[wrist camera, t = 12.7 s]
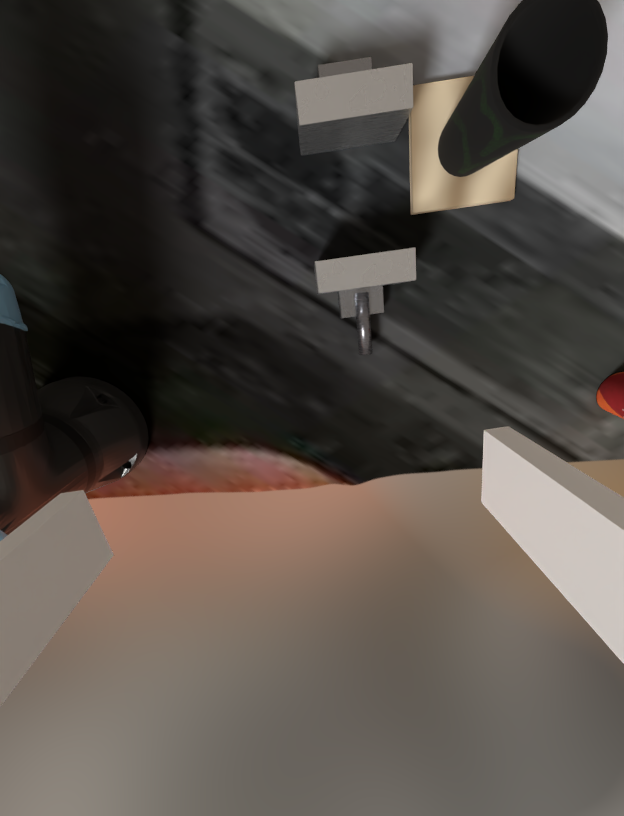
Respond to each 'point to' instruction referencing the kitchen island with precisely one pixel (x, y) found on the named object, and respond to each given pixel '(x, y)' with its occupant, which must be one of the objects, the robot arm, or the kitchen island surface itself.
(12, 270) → the kitchen island surface
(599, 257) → the kitchen island surface
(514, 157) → the coaster
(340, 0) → the kitchen island surface
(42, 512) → the robot arm
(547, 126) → the cup
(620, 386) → the paper cup
